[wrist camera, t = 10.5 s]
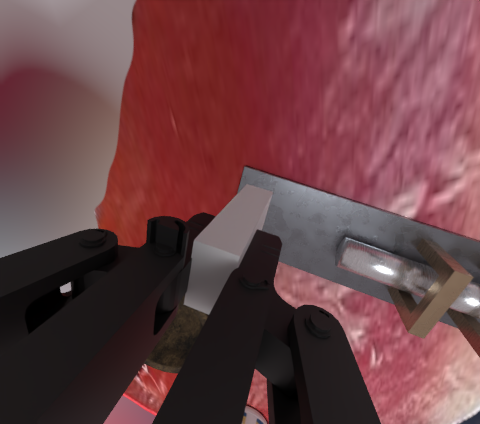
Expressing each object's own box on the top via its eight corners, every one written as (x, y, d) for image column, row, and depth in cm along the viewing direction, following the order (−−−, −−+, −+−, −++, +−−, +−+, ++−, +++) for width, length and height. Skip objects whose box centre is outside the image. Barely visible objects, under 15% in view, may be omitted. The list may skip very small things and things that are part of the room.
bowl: (240, 264, 46) (223, 300, 37) (223, 345, 54) (206, 389, 45) (138, 233, 50) (100, 258, 41) (137, 313, 58) (105, 348, 49)
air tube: (334, 254, 40) (335, 272, 36) (346, 231, 37) (349, 248, 33) (478, 306, 37) (497, 332, 33) (501, 285, 34) (524, 310, 30)
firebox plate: (246, 165, 39) (228, 177, 31) (549, 263, 33) (634, 313, 24) (226, 238, 45) (206, 266, 36) (482, 333, 39) (533, 394, 30)
